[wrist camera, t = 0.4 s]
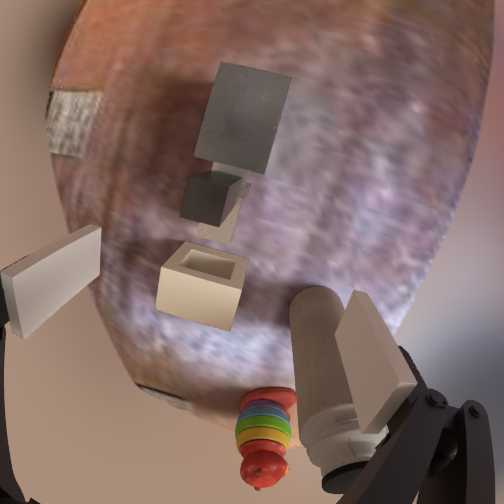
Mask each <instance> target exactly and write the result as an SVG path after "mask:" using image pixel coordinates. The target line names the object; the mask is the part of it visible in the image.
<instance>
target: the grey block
mask: <svg viewBox="0 0 504 504" xmlns="http://www.w3.org/2000/svg"><path fill="white" fill-rule="evenodd" d="M290 82H291V77H288V76H284V75H280V74H276V73H272V72H268V71H264V70H260V69H255V68H250V67H246V66H241V65H235V64H230V63H224V62H220V65H219V68H218V71H217V74H216V78H215V81H214V84H213V87H212V91H211V94H210V97H209V101H208V104H207V108H206V111H205V115H204V118H203V122H202V125H201V129H200V133H199V137H198V140H197V144H196V148H195V152H194V156H193V157H197V158H201V159H205V160H210V161H214V162H218V163H222V164H226V165H230V166H234V167H238V168H242V169H246V170H249V171H253V172H257V173H261V174H264V173H265V171H266V167H267V164H268V160H269V157H270V153H271V150H272V146H273V142H274V139H275V135H276V132H277V128H278V125H279V121H280V118H281V114H282V111H283V107H284V104H285V101H286V97H287V93H288V89H289V86H290Z"/></svg>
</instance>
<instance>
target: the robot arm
mask: <svg viewBox="0 0 504 504" xmlns="http://www.w3.org/2000/svg"><path fill="white" fill-rule="evenodd" d="M100 245H101V227H99V226H95V225H91V224H89V225H87V226H85V227H83V228H81V229H79V230H77V231H75V232H73V233H71V234H69V235H67V236H65V237H63V238H61V239H59V240H57V241H55V242H53V243H51V244H49V245H47V246H45V247H44V248H42V249H40V250H38V251H36V252H34V253H32V254H30V255H28V256H25V257H24V258H22V259H20V260H19V261H16V262H15V263H13V265H12V264H11V265H10V266H8V267H6V268H4V269H3V270H1V271H0V504H40V503H38V502H37V501H35V500H34V499H32V498H30V501H29V502H26V501H25V498H24V496H23V493H22V491H21V489H20V487H19V485H18V483H17V481H16V479H15V477H14V473H13V470H12V464H11V458H10V452H9V446H8V439H7V430H6V419H5V405H4V353H5V339H6V329H5V324H6V323H7V322H8V321H10V325H11V329H12V333H14V334H16V335H17V336H19V337H20V338H22V339H24V340H25V339H26V338H27V337H28V336H29V335H30V334H31V333H32V332H33V331H35V330H36V329H37V328H38V327H39V326H40V325H41V324H42V323H43V322H44V321H46V320H47V319H48V318H49V317H50V316H51V315H52V314H53V313H55V312H56V311H57V310H58V309H59V308H60V307H61V306H62V305H64V304H65V303H66V302H67V301H68V300H70V299H71V298H72V297H73V296H74V295H76V294H77V293H78V292H79V291H80V290H82V289H83V288H84V287H85V286H86V285H88V284H89V283H90V282H91V281H93V280H94V279H95V278H96V277H98V276H99V275H100ZM335 338H336V342H337V345H338V348H339V352H340V355H341V359H342V362H343V366H344V369H345V373H346V377H347V380H348V384H349V388H350V391H351V395H352V399H353V403H354V407H355V411H356V415H357V419H358V423H359V427H360V431H361V434H379V433H380V432H381V430H382V429H383V428H384V427H385V426H386V424H387V426H388V429H389V433H388V434H387V435H386V436H385V437H384V438H383V439H382V441H381V442H380V443H379V444H378V445H377V446H376V447H375V449H376V451H375V453H374V454H373V456H372V457H371V459H370V460H369V462H368V463H367V464H366V466H365V467H364V469H363V470H362V471H361V473H360V474H359V476H358V477H357V478H356V480H355V481H354V482H353V483H352V485H351V486H350V487H349V489H348V490H347V491H346V492H345V494H344V495H343V496H342V497H341V499H340V500H339V501H338V502H337V503H336V504H412V503H413V501H414V499H415V497H416V495H417V493H418V491H419V494H418V499H417V504H495V473H494V460H493V450H492V441H491V434H490V427H489V421H488V416H487V413H486V410H485V409H484V407H483V406H482V405H481V404H480V403H479V402H476V401H473V400H467V401H466V402H465V403H464V404H463V405H462V407H461V408H460V409H459V408H455V407H451V406H448V402H447V400H446V398H445V397H444V396H443V395H442V394H441V393H439V392H438V391H436V390H434V389H428V388H427V386H426V384H425V382H424V380H423V379H422V377H421V375H420V373H419V371H418V370H417V369H416V366H415V364H414V363H413V360H412V359H411V357H410V355H409V353H407V351H406V350H405V349H403V348H402V347H401V346H398V345H397V344H396V342H395V340H394V338H393V336H392V335H391V333H390V331H389V329H388V328H387V326H386V324H385V322H384V321H383V319H382V317H381V316H380V314H379V312H378V311H377V309H376V307H375V306H374V304H373V302H372V301H371V299H370V297H369V296H368V294H367V293H365V292H361V291H356V290H353V293H352V295H351V298H350V300H349V302H348V305H347V307H346V310H345V312H344V314H343V317H342V319H341V321H340V324H339V326H338V328H337V330H336V333H335ZM456 452H457V453H456ZM455 453H456V455H455Z"/></svg>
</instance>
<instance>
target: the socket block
mask: <svg viewBox="0 0 504 504" xmlns="http://www.w3.org/2000/svg"><path fill="white" fill-rule="evenodd" d="M248 260H249V259H248V258H244V257H240V256H237V255H233V254H229V253H226V252H222V251H219V250H215V249H211V248H208V247H204V246H201V245H197V244H194V243H190V242H186V241H185V242H184V243H183V244H182V245H181V247H180V248H179V249H178V250H177V251H176V252H175V253H174V254H173V255H172V256H171V257H170V258H169V259H168V260H167V261H166V262H165V263H164V264H163V265H162V266H161V271H160V278H159V285H158V292H157V300H156V308H155V309H156V310H159V311H162V312H166V313H169V314H172V315H175V316H178V317H181V318H185V319H188V320H191V321H195V322H198V323H201V324H205V325H208V326H212V327H215V328H219V329H223V330H226V331H230V330H231V327H232V323H233V320H234V316H235V313H236V309H237V306H238V302H239V299H240V295H241V292H242V288H243V283H244V278H245V274H246V269H247V264H248Z"/></svg>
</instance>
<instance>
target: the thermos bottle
mask: <svg viewBox="0 0 504 504" xmlns="http://www.w3.org/2000/svg"><path fill="white" fill-rule="evenodd" d="M344 312H345V309H344V306H343V304H342V302H341V300H340V297H339V296H338V295H337V293H335V292H334V291H333V290H331V289H329V288H327V287H323V286H314V287H309V288H306V289H304V290H302V291H301V292H299V293H298V294H297V295H296V296H295V297H294V298H293V300H292V302H291V304H290V307H289V320H290V329H291V340H292V351H293V362H294V374H295V386H296V399H297V413H298V427H299V439H300V441H301V444H302V445H303V446H304V447H305V448H307V454H308V456H309V459H310V461H311V462H312V463H313V464H314V465H316V466H317V467H320V468H321V474H322V477H323V479H322V488H323V490H324V491H325V492H327V493H332V494H345V492H346V491H347V490H348V489H349V487H350V486H351V485H352V483H353V482H354V481H355V480H356V478H357V477H358V476H359V474H360V473H361V471H362V470H363V469H364V467H365V466H366V464H367V463H368V462H369V460H370V459H371V457H372V456H373V454H374V453H375V451H376V449H375V447H376V446H377V445H378V444H379V443H380V442H381V441H382V439H383V438H384V437H385V436H386V435H385V434H386V428H385V427H386V426H385V427H384V428H383V429H382V430H381V432H380V433H379V434H361V431H360V427H359V423H358V419H357V415H356V411H355V407H354V403H353V399H352V395H351V391H350V388H349V384H348V380H347V377H346V373H345V369H344V366H343V362H342V359H341V355H340V352H339V348H338V345H337V342H336V338H335V333H336V330H337V328H338V326H339V324H340V321H341V319H342V317H343V314H344Z"/></svg>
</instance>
